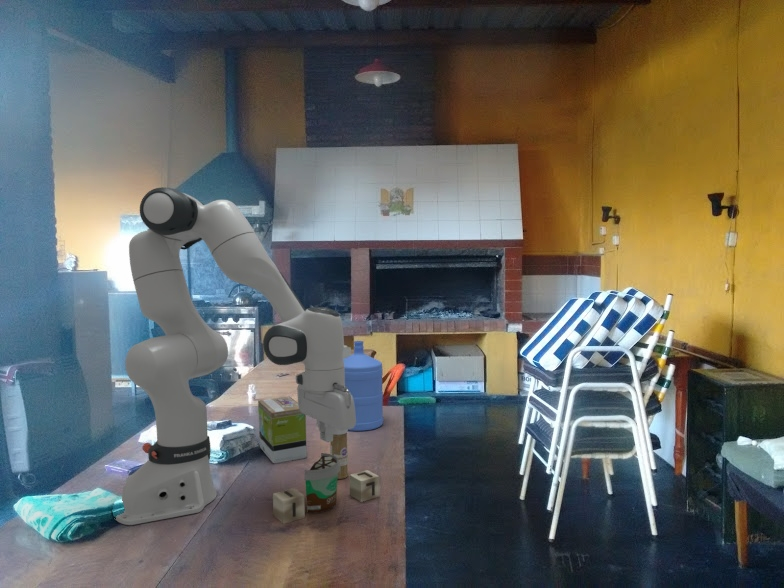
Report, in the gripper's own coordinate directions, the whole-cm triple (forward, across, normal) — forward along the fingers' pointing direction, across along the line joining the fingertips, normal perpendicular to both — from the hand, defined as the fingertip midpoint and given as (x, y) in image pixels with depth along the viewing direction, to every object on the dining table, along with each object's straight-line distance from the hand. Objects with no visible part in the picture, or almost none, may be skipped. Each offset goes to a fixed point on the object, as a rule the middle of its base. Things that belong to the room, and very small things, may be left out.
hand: (326, 440), depth 131 cm
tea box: (+15, +38, -7) cm, 42 cm away
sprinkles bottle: (+15, +13, -11) cm, 23 cm away
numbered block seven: (+15, -1, -9) cm, 18 cm away
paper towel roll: (+15, +80, -52) cm, 97 cm away
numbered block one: (+15, 0, +10) cm, 18 cm away
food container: (+15, 0, 0) cm, 15 cm away
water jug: (+15, +48, -40) cm, 64 cm away
